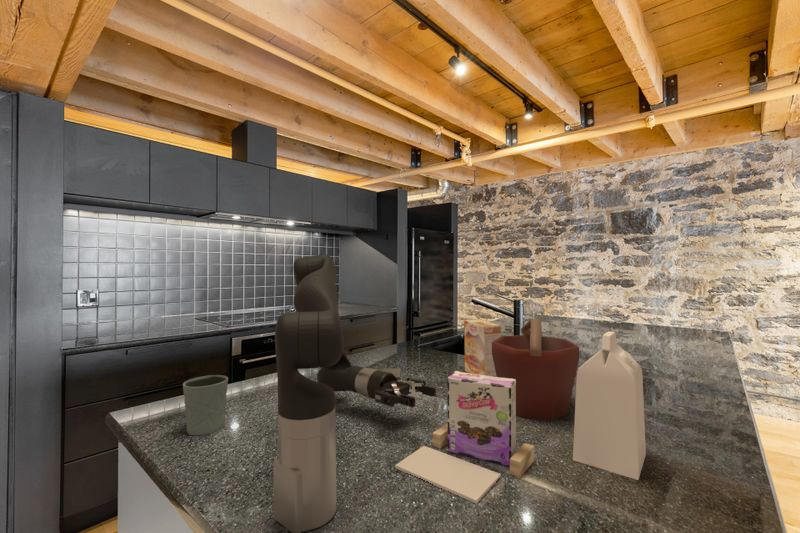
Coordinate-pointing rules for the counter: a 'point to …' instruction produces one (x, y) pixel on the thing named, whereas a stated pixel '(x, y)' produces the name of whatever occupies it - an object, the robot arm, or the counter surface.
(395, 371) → the cleaver
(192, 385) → the green cup
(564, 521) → the counter surface
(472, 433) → the candy box
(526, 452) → the block
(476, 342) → the coffeecake box
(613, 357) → the milk
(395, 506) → the counter surface
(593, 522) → the counter surface
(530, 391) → the bucket
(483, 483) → the board
